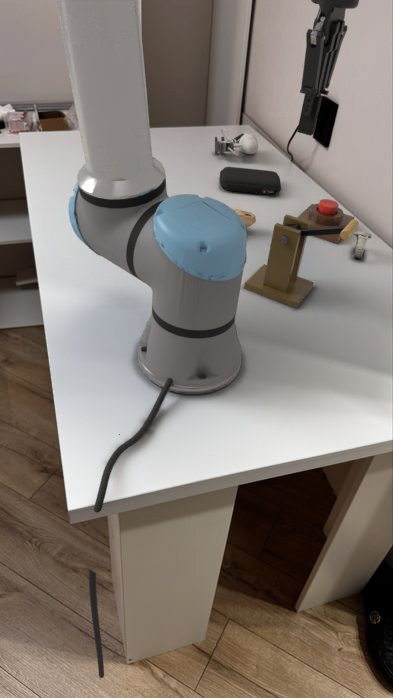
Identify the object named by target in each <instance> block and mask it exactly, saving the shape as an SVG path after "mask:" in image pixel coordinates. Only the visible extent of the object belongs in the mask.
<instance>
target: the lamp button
mask: <svg viewBox="0 0 393 698" xmlns="http://www.w3.org/2000/svg"><path fill="white" fill-rule="evenodd" d="M338 208H339V203H338V202H337V201H335V200H333V199H329V198H323V199H320V200H319V206H318V212H319V213H321V214H324V215H331V216H332V215H336V213H337V209H338Z"/></svg>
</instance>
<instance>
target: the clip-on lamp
mask: <svg viewBox="0 0 393 698" xmlns="http://www.w3.org/2000/svg"><path fill="white" fill-rule="evenodd" d="M220 131H221V133H222V136H221V137H220V140H218V136H215V137H214V154H215V155H218V153H219V154H222V155H223V154H225V153H229V154H230V153H231V154H233V155H234V156H236V157H239V152H238V150H236V148H239V150H240V151H241V152H242V153H243V154H246V155H253V154H255V153H256V152H258V149H259V144H258V143H259V142H258V141H259V140H258V138H257V137H256V136H255V135H254V134H252V133H241V134H238V135H237V136H235V137H234V136H233V135H232V134H231V133H230V132H228V130H226V128H224V127H222V126H221V127H220ZM224 132H225V133H226V134H228V135H229V136H230V137H231V140H229V139H228V138H227V137H226V135H225V133H224ZM237 141H238V143H237Z"/></svg>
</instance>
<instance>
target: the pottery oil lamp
mask: <svg viewBox="0 0 393 698" xmlns="http://www.w3.org/2000/svg"><path fill="white" fill-rule="evenodd" d="M230 208H231V209H233V210H234V211H235V212H236V213H237V214H238V215H239V216H240V217H241V219H242V220H243V222H244V225H245V227H246V229H247V228H249V227H251V226H253V225H254V224H255V223H257V218H256V215H255V214H254V213H253V212H251V211H247V210H242V209H238V208H233V207H230Z"/></svg>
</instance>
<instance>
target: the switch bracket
mask: <svg viewBox="0 0 393 698" xmlns="http://www.w3.org/2000/svg"><path fill="white" fill-rule="evenodd" d="M297 217H298V216H297ZM297 217H296V216H293V215H290V214H285V215H284V216H283V221H282V223H279V222H276V223H275V224H274V226H273V229H272V230H273V231H272V235H271V240H270V246H269V250H268V251H269V252H268V256H267V260H266V261H267V262H266V264H263V265H262V266H261V267H260V268H259V269H258V270H257V271H256V272H255V273H254V274H253V275H252V276H250V278H248V279H247V280H246V281H245V282H244V289H245V290H248V291H250V292H253V293H255V294H258V295H260V296H263V297H266V298H268V299H271V300H273V301H276V302H279V303H280V304H281V303H282V304H284V305H286V306H288V307H291V308H294V309H297V307H298V306H299V305H300V304H301V303H302V301H304V299H305V297H307V296H308V294H309V293H310V292H311V290H312V289H313V288H314V284H315V282H314V281H311V280H310V279H307V278H304V277H301V276H299V273H300V268H301V265H302V259H303V255H304V251H305V247H306V242H307V238H308V236H302V237H301V238H300V235H301V231H300V230H297V229H294V228H291V227H288V226H285V224H299V223H300V229H302V228H309V226H310V222H309V221H306V220H303V219H300V218H297Z"/></svg>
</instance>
